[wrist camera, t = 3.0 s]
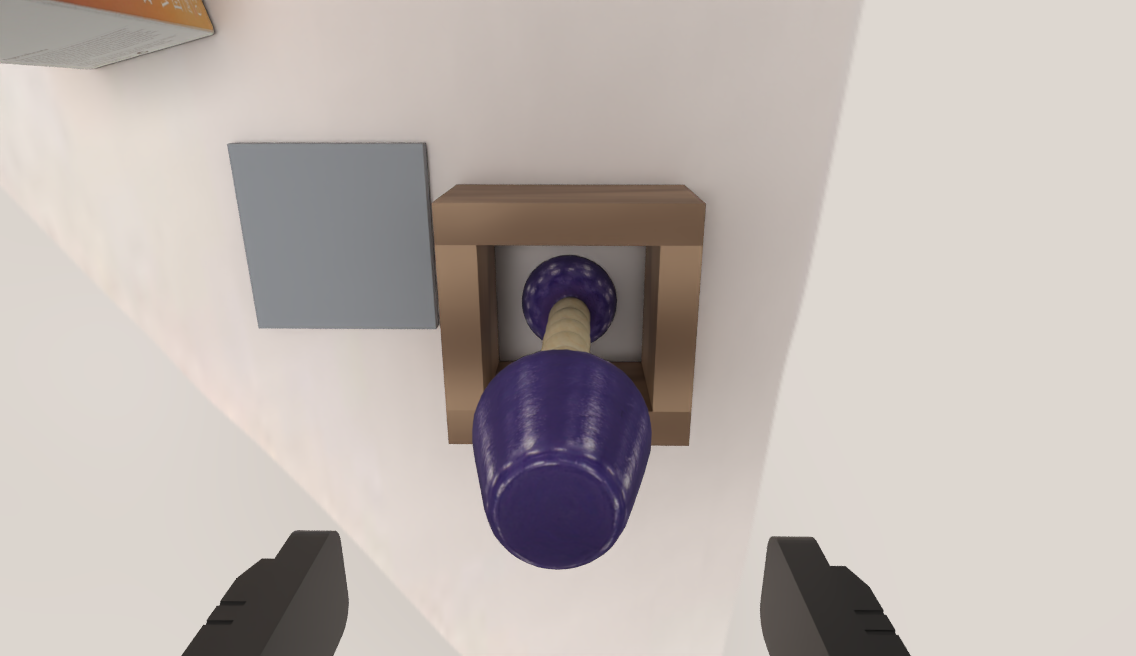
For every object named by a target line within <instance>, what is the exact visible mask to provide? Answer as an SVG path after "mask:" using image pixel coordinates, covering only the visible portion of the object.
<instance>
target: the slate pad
mask: <svg viewBox="0 0 1136 656" xmlns="http://www.w3.org/2000/svg"><path fill="white" fill-rule="evenodd" d="M227 146H228V152H229V158H230V164H231V169H232V175H233V181H234V187H235V193H236V199H237V204H238V210H239V216H240V222H241V228H242V234H243V239H244V245H245V251H246V257H247V263H248V269H249V274H250V280H251V286H252V292H253V298H254V304H255V309H256V315H257V321H258V327H259V328H308V329H436V328H437V327H438V325H439V322H438V308H437V294H436V280H435V266H434V252H433V238H432V224H431V211H430V197H429V183H428V169H427V155H426V143H230V144H227Z"/></svg>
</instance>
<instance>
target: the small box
mask: <svg viewBox="0 0 1136 656" xmlns="http://www.w3.org/2000/svg"><path fill="white" fill-rule="evenodd" d="M213 33H214V29H213V26H212V24H211V22H210V19H209V17H208V15H207V12H206V10H205V7H204V5H203V3H202V1H201V0H0V63H6V64H20V65H34V66H49V67H63V68H76V69H94V68H98V67H101V66H104V65H108V64H111V63H115V62H119V61H122V60H126V59H129V58H133V57H136V56H140V55H143V54H147V53H150V52H154V51H157V50H161V49H164V48H168V47H171V46H175V45H178V44H182V43H185V42H189V41H192V40H195V39H199V38H202V37H206V36H210V35H212V34H213Z"/></svg>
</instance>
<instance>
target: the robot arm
mask: <svg viewBox="0 0 1136 656" xmlns="http://www.w3.org/2000/svg"><path fill="white" fill-rule="evenodd" d="M348 606H349V598H348V590H347V582H346V575H345V568H344V561H343V553H342V547H341V540H340V536H339V534H338V532H337V531H303V530H297V531H294V532H293V533H292V534H291V535H290V536H289V538H288V539H287V541H286V542H285V544H284V545H283V547H282V548H281V550H280V551H279V553H278V554H277V556H276V557H275V559H261V560H260V561H259V562H257V563H256V564H254V565H253V566H252V567H251V568H249V569H248V570H247V571H245V572H244V573H243V574H242V575H240V576H239V577H238V578H236V580H235V581H234V583H233V584H232V585H231V587H230V588H229V590H228V591H227V592H226V594H225V595H224V597H223V598H222V600H221V601H220V605H219V606H216V608H215V609H214V611H213V612H212V613H211V615H210V616H209V618H208V619H207V623H206V625H203V626H202V628H201V629H200V630H199V632H198V633H197V635H196V636H195V637H194V639H193V640H192V642H191V643H190V644H189V646H188V647H187V649H186V650H185V651H184V653H183V654H182V656H333V655H334V653H335V650H336V648H337V646H338V644H339V641H340V639H341V637H342V635H343V632H344V629H345V625H346V621H347V616H348ZM760 617H761V626H762V632H763V636H764V640H765V643H766V646H767V649H768V652H769V655H770V656H910V654H909V652H908V651H907V649H906V647H905V646H904V644H903V642H902V641H901V639H900V637H899V635H896V634H895V629H894V627H893V625H892V624H891V622H890V621H889V619H888V617H887V615H884V613H883V609H882V607H881V605H880V604H879V602H878V600H877V599H876V597H875V595H874V594H873V592H872V590H871V589H870V587H869V586H868V585H867V584H866V583H864V582H863V581H862V580H861V579H860V578H859V577H857V576H856V575H855V574H854V573H853V572H851V571H850V570H849V569H848V568H847V567H846V566H830V565H829V563H828V561H827V560H826V558H825V556H824V554H823V552H822V550H821V548H820V547H819V545H818V543H817V541H816V540H815V539H814V538H813V537H775V536H774V537H771V538H770V539H769V542H768V546H767V553H766V562H765V570H764V578H763V586H762V594H761V603H760Z"/></svg>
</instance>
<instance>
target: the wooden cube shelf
mask: <svg viewBox="0 0 1136 656" xmlns="http://www.w3.org/2000/svg"><path fill="white" fill-rule="evenodd" d="M705 208H706V203H705V202H703V201H702V200H701V199H700V198H699V197H698V196H697V195H695V194H694V193H693V192H692V191H691V190H690V189H688V188H687V187H686V186H685V185H456V186H454V187H453V188H451V189H450V190H449V191H447V192H446V193H445V194H443V195H442V196H441V197H439V198H438V199H436V200H435V201H434V202H432V215H433V230H434V244H435V258H436V272H437V286H438V300H439V314H440V328H441V342H442V356H443V370H444V384H445V398H446V412H447V426H448V440H449V444H473V443H472V428H473V419H474V413H475V410H476V407H477V405H478V402H479V400H480V398H481V395H482V393H483V392H484V390H485V388H486V387H487V385H488V384H489V383H490V381H491V380H492V379H493V378H494V377H495V376H496V375H497V374H498V373H499V372H500V371H501V370H503V369H504V368H505V367H506V366H508V365H509V364H511V363H513V362H514V361H499V344H498V318H497V293H496V268H495V245H576V246H646V258H645V283H644V308H643V333H642V358H641V362H610V363H612V364H613V365H615V366H616V367H617V368H619V369H620V370H622V371H623V372H624V373H625V374H626V375H627V376H628V377H629V378H630V379H631V380H632V381H633V383H634V384H635V386H636V387H637V389H638V390H639V391H640V393H641V395H642V397H643V399H644V401H645V403H646V406H647V408H648V412H649V416H650V422H651V430H652V437H651V445H660V446H689V436H690V422H691V407H692V393H693V379H694V365H695V350H696V336H697V322H698V308H699V293H700V279H701V265H702V251H703V236H704V222H705Z"/></svg>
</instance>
